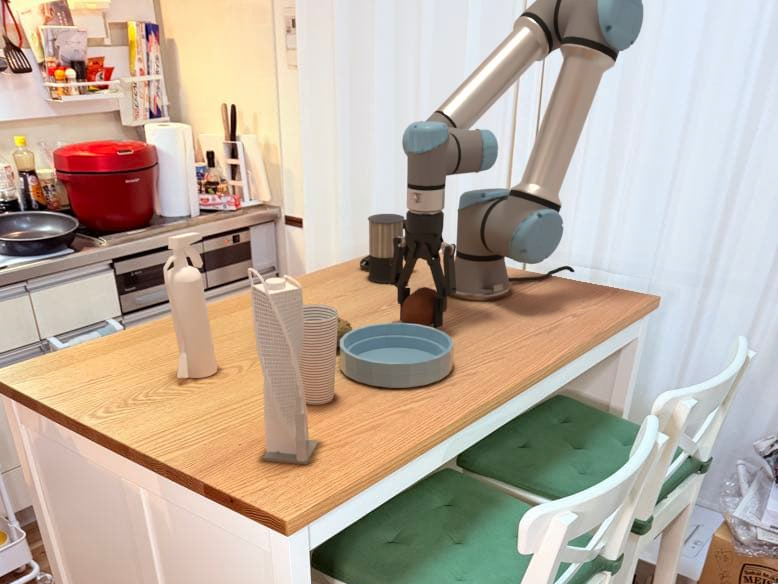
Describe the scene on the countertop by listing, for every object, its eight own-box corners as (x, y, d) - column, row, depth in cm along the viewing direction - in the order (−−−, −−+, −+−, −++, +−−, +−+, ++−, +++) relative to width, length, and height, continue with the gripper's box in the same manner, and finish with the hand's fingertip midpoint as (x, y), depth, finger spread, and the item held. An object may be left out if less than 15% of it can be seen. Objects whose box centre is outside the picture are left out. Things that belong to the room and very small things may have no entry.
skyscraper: (254, 459, 119) (235, 276, 103) (270, 435, 126) (255, 259, 110) (306, 464, 118) (295, 279, 102) (320, 440, 124) (312, 263, 108)
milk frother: (391, 286, 192) (392, 223, 183) (339, 276, 199) (338, 215, 190) (420, 272, 202) (422, 212, 193) (369, 263, 209) (369, 205, 200)
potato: (390, 328, 165) (390, 290, 160) (422, 314, 172) (423, 278, 167) (418, 336, 161) (420, 298, 156) (450, 322, 168) (452, 285, 163)
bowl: (380, 339, 162) (380, 315, 159) (471, 360, 152) (473, 336, 149) (318, 372, 147) (316, 347, 144) (414, 399, 137) (415, 373, 134)
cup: (296, 388, 141) (290, 304, 132) (342, 388, 141) (340, 304, 132) (290, 407, 134) (284, 320, 125) (339, 408, 134) (336, 321, 125)
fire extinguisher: (161, 381, 144) (137, 242, 130) (201, 359, 153) (183, 227, 138) (190, 388, 141) (169, 247, 127) (229, 365, 150) (213, 231, 136)
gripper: (372, 207, 155) (372, 318, 168) (461, 220, 146) (454, 337, 159) (392, 201, 160) (390, 309, 173) (479, 213, 151) (471, 327, 164)
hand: (421, 322), depth 166 cm, fingers closed on potato, 8 cm apart
